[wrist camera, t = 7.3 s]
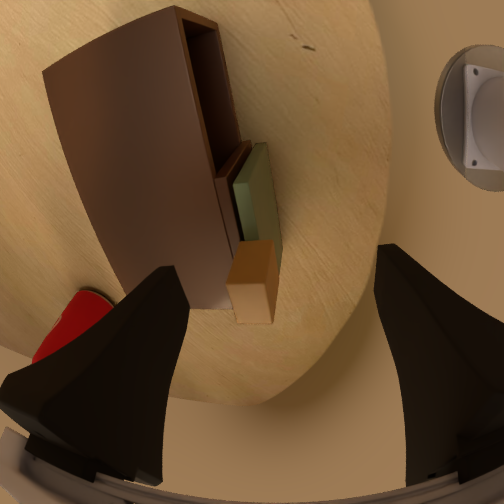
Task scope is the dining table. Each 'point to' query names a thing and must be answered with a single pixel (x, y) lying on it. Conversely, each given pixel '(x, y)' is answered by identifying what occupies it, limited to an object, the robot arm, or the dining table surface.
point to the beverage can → (74, 321)
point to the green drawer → (256, 243)
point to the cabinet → (155, 149)
